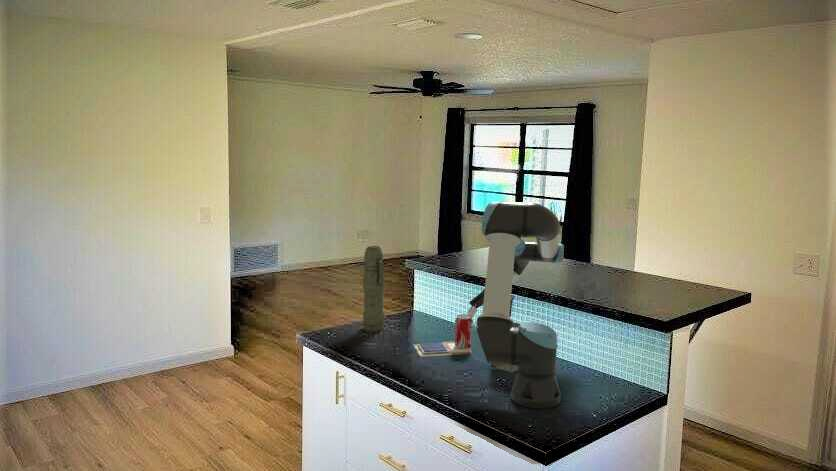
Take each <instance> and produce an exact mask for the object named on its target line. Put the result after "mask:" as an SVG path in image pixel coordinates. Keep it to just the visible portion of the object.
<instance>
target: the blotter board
mask: <svg viewBox="0 0 836 471" xmlns="http://www.w3.org/2000/svg"><path fill="white" fill-rule="evenodd" d="M418 344H419V343H416V344H415V343H413V344H412V345H413V347H414V349H415V350H416V352H417V354H418V355H419V356H420V357H421V358H423V357H425V358H426V357H439V356H453V355H458V354H451V352H450V353H440V354H424V355H423V353H422V352H421V350H420V348H419V347H418ZM466 354H467V355H469V354H471V355H472V353H463V354H462V355H466Z"/></svg>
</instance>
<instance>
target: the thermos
mask: <svg viewBox="0 0 836 471" xmlns="http://www.w3.org/2000/svg"><path fill="white" fill-rule="evenodd" d="M383 255H384V254H383V251H382V248H381V247H380V246H378V245H377V246H376V245H370V246H367V247H366V248H365V252H364V256H363V257H364V259H363V260H364V267H363V268H364V271H363V276H362V287H363V288H362V289H363V291H364V292H363V293H364V294H363V295H364V296H363V297H364V298H363V299H364V300H363V302H364V308H363V309H364V310H363V312H362V314H363V315H362V323H363V330H364V331H366V332H372V333H376V332H377V333H378V332H381V331H384V330H385V311H384V289H385V274H384V260H383V259H384V256H383Z"/></svg>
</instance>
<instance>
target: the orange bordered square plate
mask: <svg viewBox="0 0 836 471" xmlns="http://www.w3.org/2000/svg"><path fill="white" fill-rule="evenodd" d="M442 343H444V344H445V346H446V347H447V348H448V350H449V351H450V352H451V354H457V355H464V354H463V353H472V352H471V347H470V348H468V349H460V348H458V347H457V346H455V341H454V340H453V341H443V342H442Z"/></svg>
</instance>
